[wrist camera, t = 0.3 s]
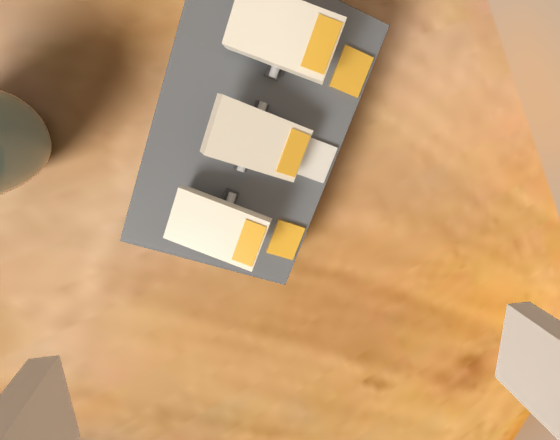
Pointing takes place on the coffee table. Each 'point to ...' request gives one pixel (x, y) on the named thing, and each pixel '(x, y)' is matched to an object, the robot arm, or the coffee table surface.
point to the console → (263, 95)
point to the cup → (21, 142)
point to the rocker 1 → (285, 35)
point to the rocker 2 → (254, 139)
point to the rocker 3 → (216, 227)
